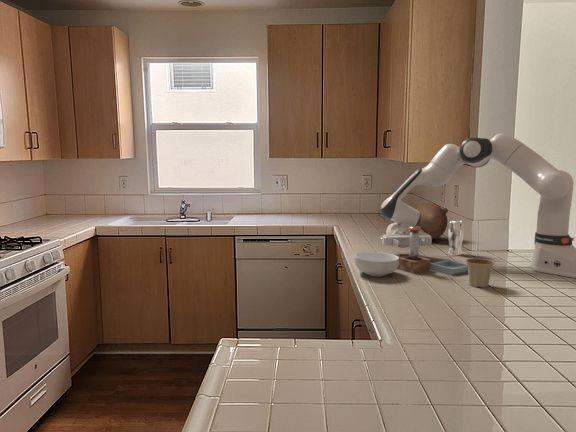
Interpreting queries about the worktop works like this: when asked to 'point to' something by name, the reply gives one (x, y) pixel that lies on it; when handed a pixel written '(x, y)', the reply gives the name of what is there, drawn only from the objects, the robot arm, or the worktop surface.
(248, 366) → the worktop surface
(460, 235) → the beer glass
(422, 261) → the socket block
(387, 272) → the cereal bowl
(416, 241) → the pin
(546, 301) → the worktop surface
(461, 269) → the tray
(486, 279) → the flower pot
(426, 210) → the jug
